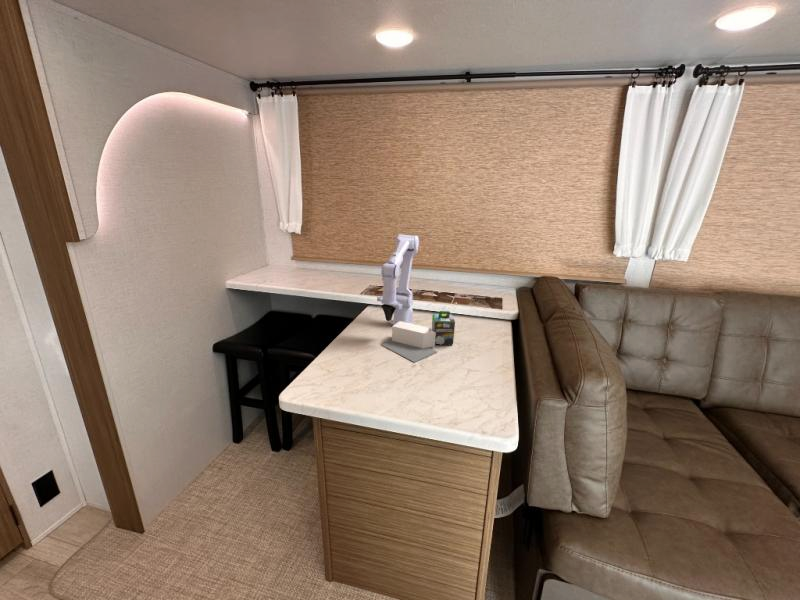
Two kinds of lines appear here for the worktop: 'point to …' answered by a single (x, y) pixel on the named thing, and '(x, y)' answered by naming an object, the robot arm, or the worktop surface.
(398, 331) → the cream plain cuboid
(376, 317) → the worktop surface
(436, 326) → the chalk box
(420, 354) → the mat
